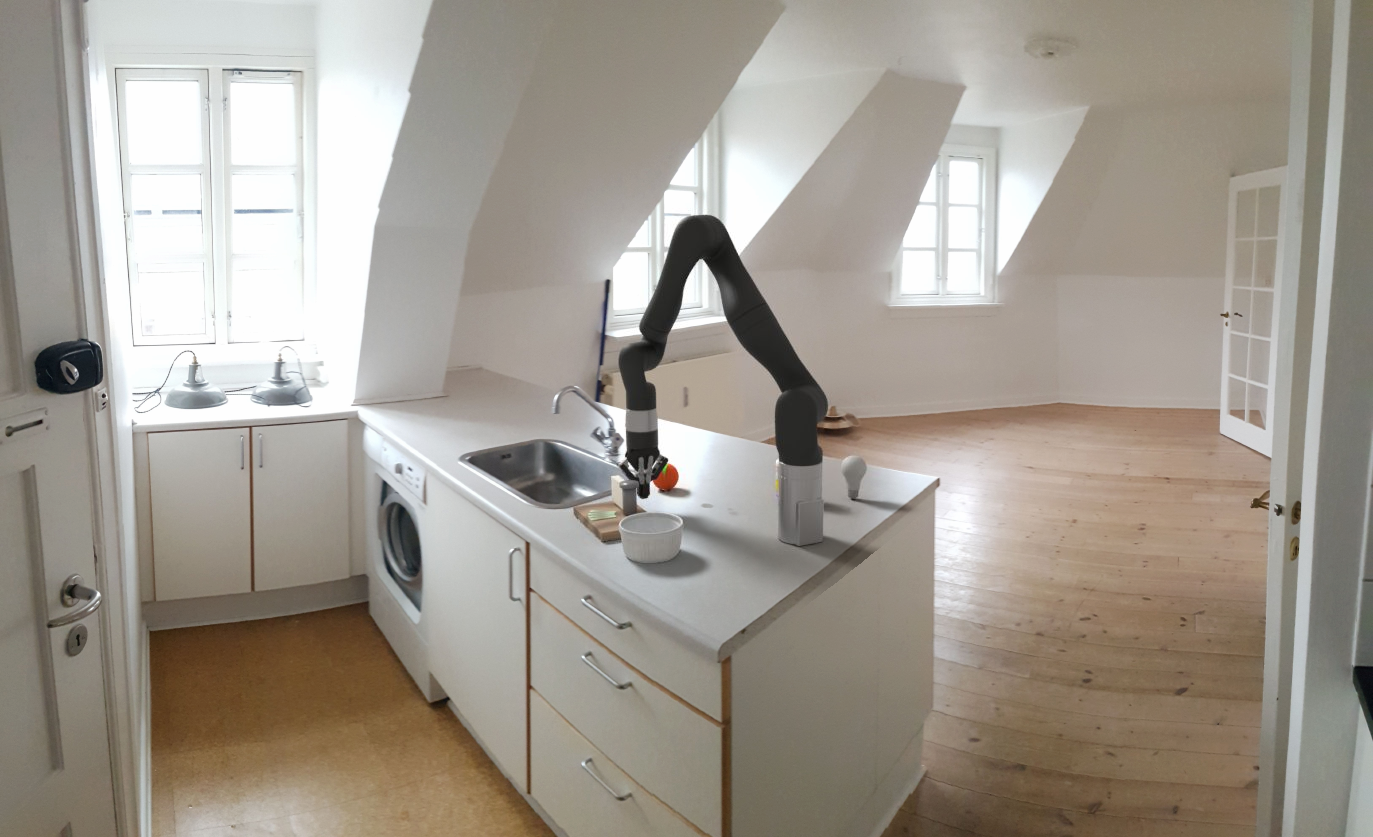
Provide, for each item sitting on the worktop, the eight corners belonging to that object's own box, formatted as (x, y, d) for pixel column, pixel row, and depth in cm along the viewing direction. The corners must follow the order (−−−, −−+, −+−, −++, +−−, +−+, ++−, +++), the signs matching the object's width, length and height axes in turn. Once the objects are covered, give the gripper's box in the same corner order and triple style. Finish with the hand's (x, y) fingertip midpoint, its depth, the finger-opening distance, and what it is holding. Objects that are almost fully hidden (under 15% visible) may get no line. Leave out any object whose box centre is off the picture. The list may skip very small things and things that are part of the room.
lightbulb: (855, 504, 208) (856, 460, 205) (835, 498, 212) (836, 455, 210) (870, 499, 212) (872, 455, 209) (850, 493, 216) (851, 451, 214)
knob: (642, 514, 196) (641, 484, 194) (624, 517, 194) (623, 486, 193) (624, 499, 206) (623, 471, 205) (606, 502, 205) (605, 473, 203)
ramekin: (632, 570, 170) (631, 537, 169) (610, 548, 182) (609, 517, 180) (693, 559, 175) (693, 527, 174) (669, 538, 187) (668, 508, 186)
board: (661, 531, 191) (661, 522, 191) (601, 542, 186) (601, 532, 185) (629, 506, 209) (629, 497, 208) (573, 514, 203) (573, 506, 203)
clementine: (678, 494, 217) (678, 467, 216) (651, 495, 218) (650, 467, 216) (679, 485, 225) (678, 459, 224) (652, 485, 225) (652, 459, 224)
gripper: (621, 433, 195) (624, 506, 199) (674, 426, 201) (675, 498, 205) (609, 427, 202) (611, 497, 206) (660, 420, 208) (661, 489, 211)
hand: (643, 497), depth 205 cm, fingers closed
